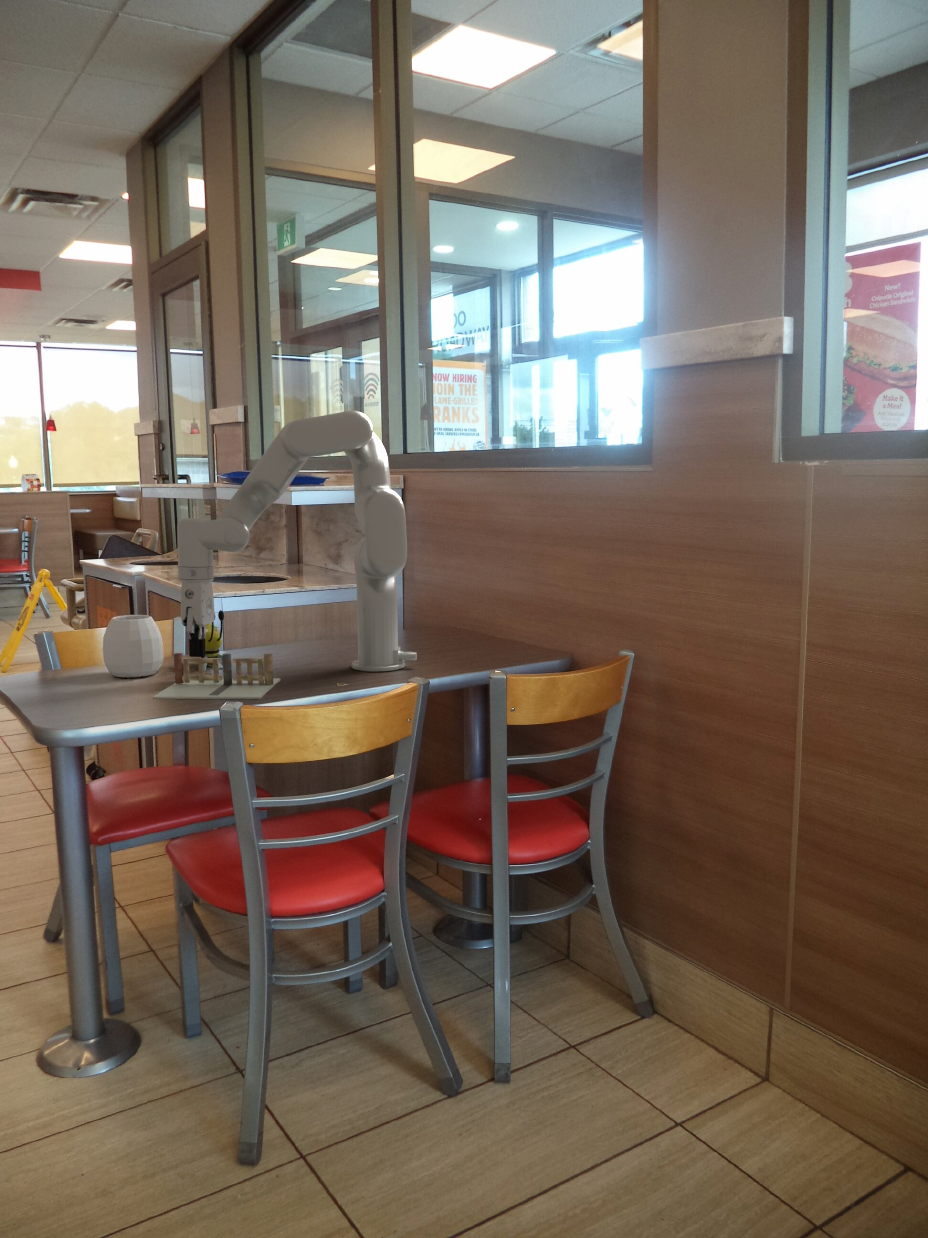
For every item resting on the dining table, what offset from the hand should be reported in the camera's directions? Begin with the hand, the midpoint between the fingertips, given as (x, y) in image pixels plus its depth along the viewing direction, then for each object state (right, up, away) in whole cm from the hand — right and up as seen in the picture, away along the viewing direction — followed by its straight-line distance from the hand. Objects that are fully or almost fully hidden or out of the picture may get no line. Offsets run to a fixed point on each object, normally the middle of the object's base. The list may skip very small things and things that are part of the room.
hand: (197, 656), depth 215 cm
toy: (-1, -4, +16) cm, 16 cm away
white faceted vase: (-16, -5, +7) cm, 18 cm away
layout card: (+7, -7, -9) cm, 13 cm away
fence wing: (+2, -6, -6) cm, 8 cm away
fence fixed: (+13, -6, -6) cm, 16 cm away
